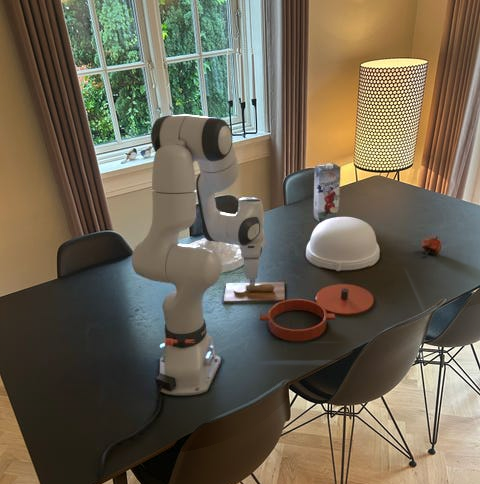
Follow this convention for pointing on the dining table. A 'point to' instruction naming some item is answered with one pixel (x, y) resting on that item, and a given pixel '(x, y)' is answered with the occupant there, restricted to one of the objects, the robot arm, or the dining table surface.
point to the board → (255, 293)
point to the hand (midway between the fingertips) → (253, 278)
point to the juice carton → (326, 191)
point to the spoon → (253, 288)
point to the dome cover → (343, 244)
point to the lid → (345, 299)
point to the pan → (297, 305)
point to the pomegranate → (431, 246)
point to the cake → (223, 253)
